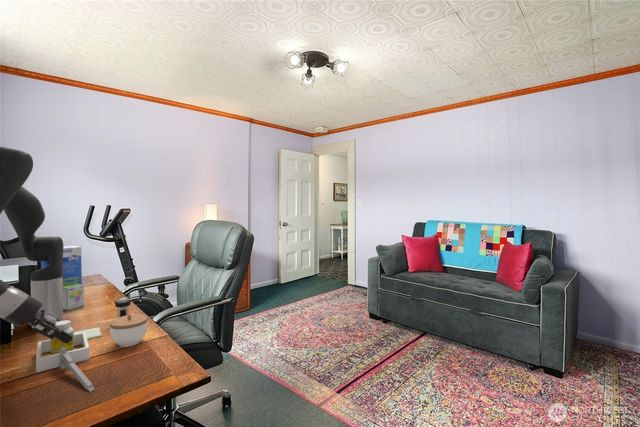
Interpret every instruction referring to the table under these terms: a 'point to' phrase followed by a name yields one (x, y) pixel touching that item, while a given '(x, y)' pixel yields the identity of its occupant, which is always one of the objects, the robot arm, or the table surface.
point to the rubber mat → (90, 333)
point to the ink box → (72, 294)
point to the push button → (122, 306)
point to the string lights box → (70, 263)
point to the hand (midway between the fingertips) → (69, 337)
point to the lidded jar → (128, 329)
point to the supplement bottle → (58, 344)
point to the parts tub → (53, 360)
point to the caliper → (73, 369)
